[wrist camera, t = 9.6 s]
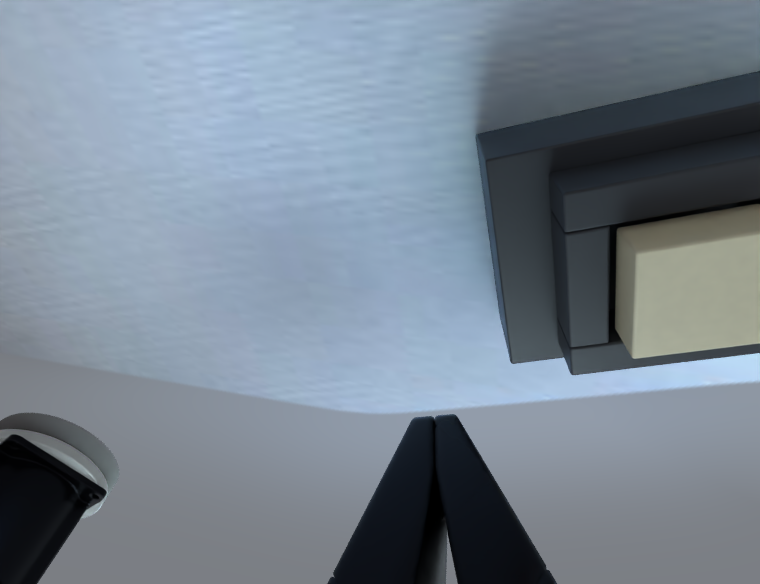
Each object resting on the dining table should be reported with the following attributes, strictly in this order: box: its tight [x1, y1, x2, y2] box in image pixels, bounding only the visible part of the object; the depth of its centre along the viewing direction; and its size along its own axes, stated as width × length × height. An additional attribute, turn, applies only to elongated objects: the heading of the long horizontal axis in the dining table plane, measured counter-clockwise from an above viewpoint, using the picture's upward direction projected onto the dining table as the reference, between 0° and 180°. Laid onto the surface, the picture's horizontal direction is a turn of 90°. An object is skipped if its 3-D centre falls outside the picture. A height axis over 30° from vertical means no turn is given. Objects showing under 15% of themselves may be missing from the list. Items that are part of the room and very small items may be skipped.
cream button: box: [615, 204, 760, 359], centre depth 13 cm, size 4×4×2 cm
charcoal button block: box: [476, 71, 760, 375], centre depth 15 cm, size 10×8×5 cm
